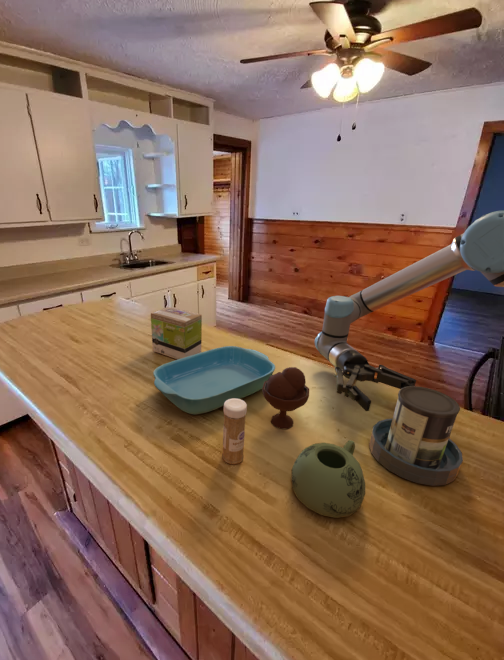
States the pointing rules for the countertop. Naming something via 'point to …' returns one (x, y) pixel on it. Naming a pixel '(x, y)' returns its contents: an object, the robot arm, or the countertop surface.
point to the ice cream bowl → (286, 394)
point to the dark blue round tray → (410, 471)
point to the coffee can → (421, 426)
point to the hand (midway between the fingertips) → (397, 404)
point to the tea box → (176, 332)
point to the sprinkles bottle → (234, 430)
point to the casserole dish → (213, 378)
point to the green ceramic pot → (329, 479)
